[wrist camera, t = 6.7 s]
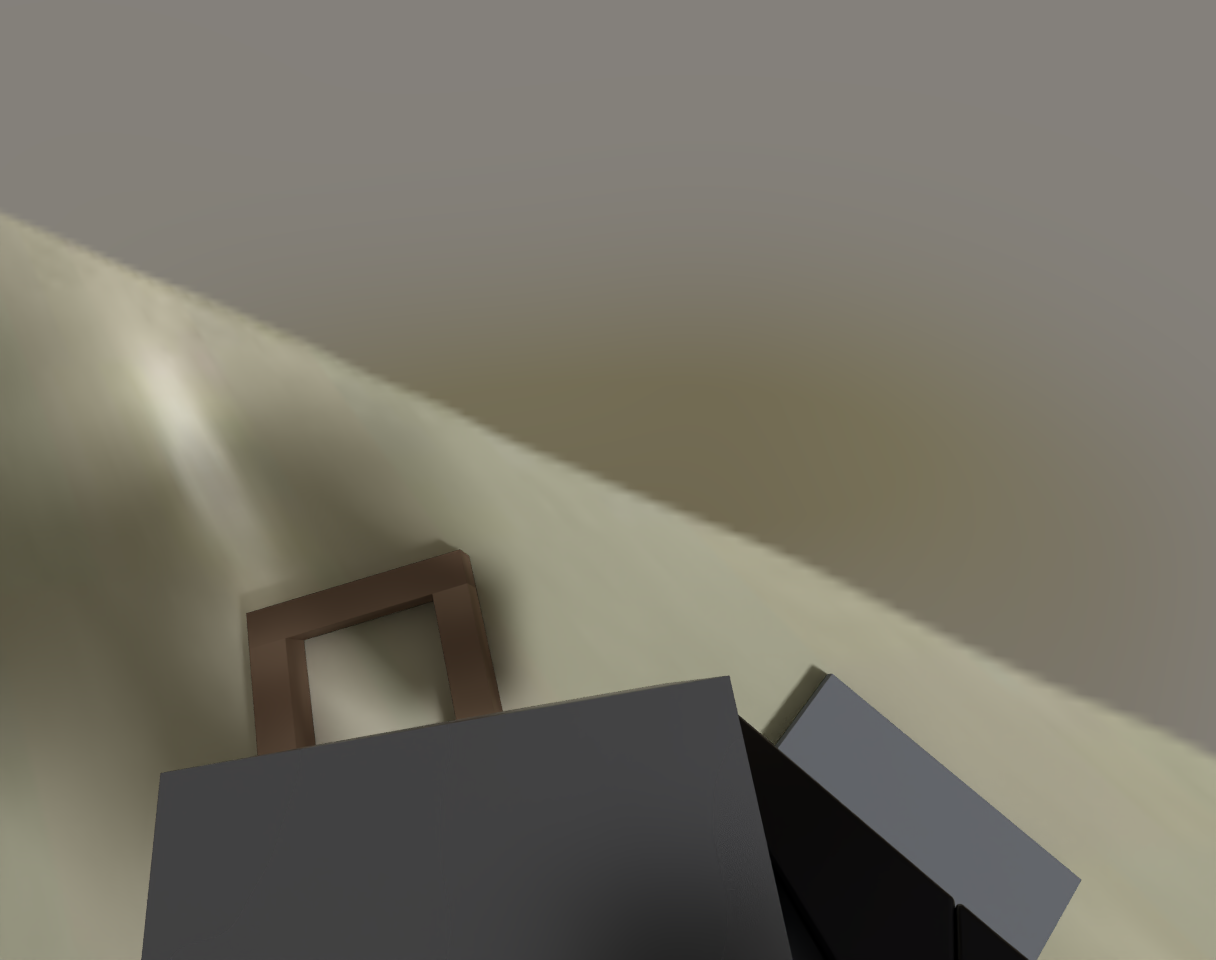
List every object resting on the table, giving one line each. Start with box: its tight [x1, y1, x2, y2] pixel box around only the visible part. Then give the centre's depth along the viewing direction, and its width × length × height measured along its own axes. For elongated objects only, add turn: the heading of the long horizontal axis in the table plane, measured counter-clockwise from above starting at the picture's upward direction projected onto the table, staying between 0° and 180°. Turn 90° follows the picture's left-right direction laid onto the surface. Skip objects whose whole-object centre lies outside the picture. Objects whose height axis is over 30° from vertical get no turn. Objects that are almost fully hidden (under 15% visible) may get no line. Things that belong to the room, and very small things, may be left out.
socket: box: [246, 550, 503, 755], centre depth 20 cm, size 8×8×1 cm
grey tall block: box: [141, 676, 793, 960], centre depth 9 cm, size 4×4×12 cm
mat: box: [775, 674, 1081, 960], centre depth 18 cm, size 9×9×1 cm
